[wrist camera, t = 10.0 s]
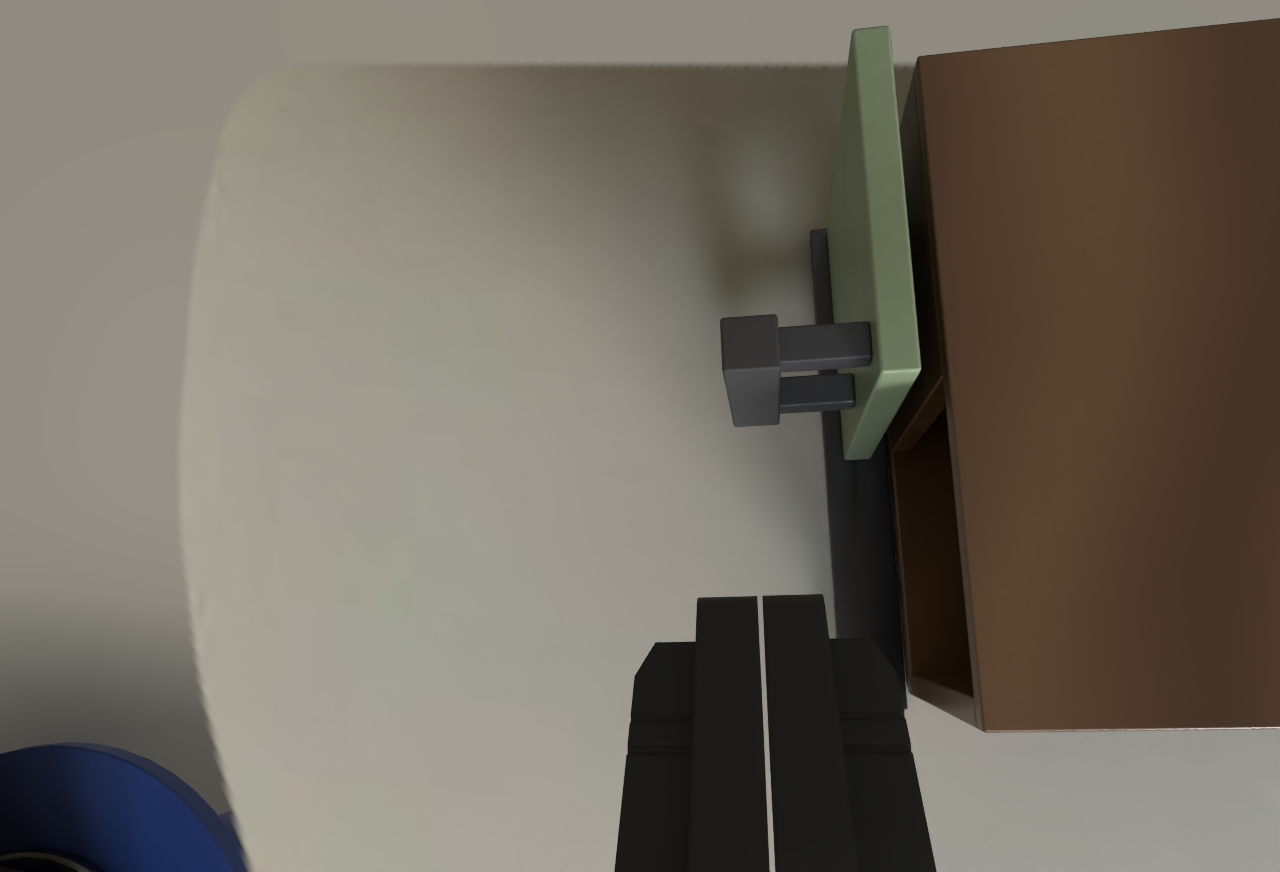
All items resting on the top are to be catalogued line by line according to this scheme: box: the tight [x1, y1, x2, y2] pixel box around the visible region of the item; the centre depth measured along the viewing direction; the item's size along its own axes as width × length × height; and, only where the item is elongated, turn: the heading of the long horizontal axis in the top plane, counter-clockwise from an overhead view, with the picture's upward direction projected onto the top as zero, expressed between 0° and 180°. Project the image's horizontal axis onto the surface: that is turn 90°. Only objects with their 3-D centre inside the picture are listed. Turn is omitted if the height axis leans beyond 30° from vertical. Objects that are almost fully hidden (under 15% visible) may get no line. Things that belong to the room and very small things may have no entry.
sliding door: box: [720, 26, 921, 460], centre depth 24 cm, size 4×8×10 cm, turn 2°
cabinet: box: [810, 18, 1280, 733], centre depth 23 cm, size 13×15×10 cm
